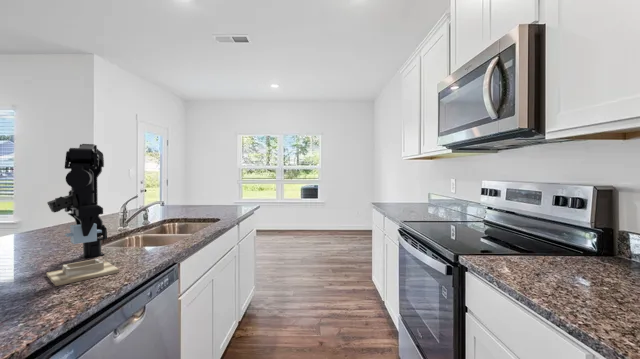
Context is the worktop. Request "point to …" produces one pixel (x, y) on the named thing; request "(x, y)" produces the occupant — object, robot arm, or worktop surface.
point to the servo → (78, 235)
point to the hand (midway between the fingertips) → (83, 235)
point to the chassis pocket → (81, 271)
